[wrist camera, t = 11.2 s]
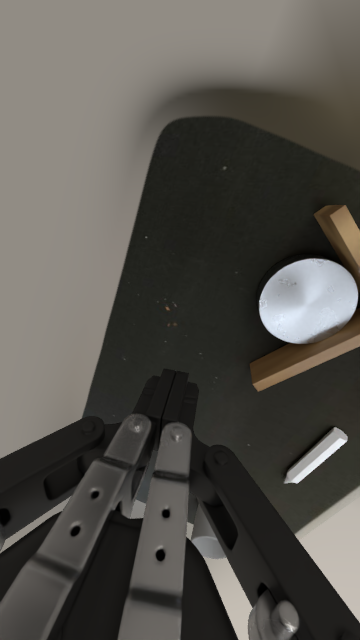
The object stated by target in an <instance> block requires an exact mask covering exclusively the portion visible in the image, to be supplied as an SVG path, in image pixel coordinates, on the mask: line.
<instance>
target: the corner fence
mask: <svg viewBox="0 0 360 640" xmlns="http://www.w3.org/2000/svg"><path fill="white" fill-rule="evenodd" d="M314 216H315V218H316V220H317V221H318V223H319V225H320V226H321V228H322V230H323V232H324V233H325V235H326V237H327V238H328V240H329V242H330V243H331V245H332V247H333V249H334V250H335V252H336V254H337V255H338V257H339V259H340V260H341V262H342V264H343V266H344V267H345V268H346V269H347V270H348V271H349V272H350V273H351V275H352V276H353V278H354V280H355V282H356V285H357V288H358V291H359V293H360V231H359V229H358V227H357V225H356V223H355V222H354V220H353V218H352V216H351V214H350V212H349V211H348V209H347V207H346V205H328V206H325V207H323V208H322V209H321V210H319V211H318V212H316V213H315V214H314ZM359 346H360V308H358V309H356V310H355V312H354V314H353V316H352V317H351V319H350V320H349V322H348V323H347V324H346V325H345V326H344V327H343V328H342V329H341V330H340V331H338V332H337V333H336V334H334V335H332V336H331V337H329V338H327V339H324V340H322V341H318V342H314V343H308V344H296V343H289V344H287V345H285V346H283V347H281V348H279V349H277V350H275V351H273V352H271V353H270V354H268V355H266V356H264V357H262V358H260V359H258V360H256V361H254V362H252V363H250V369H251V376H252V384H253V385H254V387H255V388H256V389H257V390H258V391H261V390H263V389H265V388H267V387H270V386H272V385H274V384H276V383H279V382H281V381H283V380H285V379H288V378H290V377H292V376H294V375H296V374H299V373H301V372H303V371H305V370H308V369H310V368H312V367H314V366H317V365H319V364H321V363H323V362H325V361H328V360H330V359H332V358H334V357H337V356H339V355H341V354H343V353H345V352H348V351H350V350H352V349H354V348H357V347H359Z"/></svg>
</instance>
